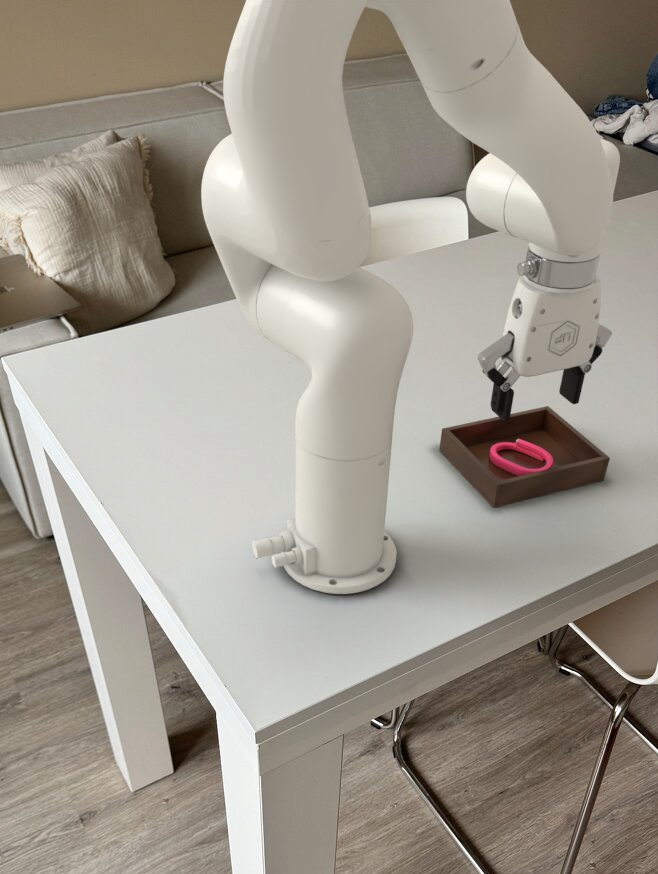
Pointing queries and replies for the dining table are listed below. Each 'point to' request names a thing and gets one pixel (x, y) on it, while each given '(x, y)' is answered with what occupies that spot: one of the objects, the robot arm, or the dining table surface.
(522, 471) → the fitness band
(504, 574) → the dining table surface
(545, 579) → the dining table surface
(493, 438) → the walnut tray
